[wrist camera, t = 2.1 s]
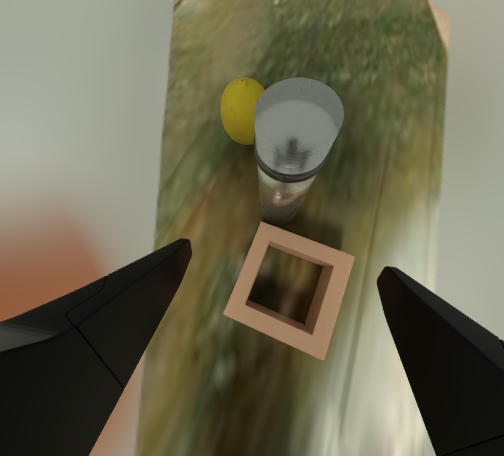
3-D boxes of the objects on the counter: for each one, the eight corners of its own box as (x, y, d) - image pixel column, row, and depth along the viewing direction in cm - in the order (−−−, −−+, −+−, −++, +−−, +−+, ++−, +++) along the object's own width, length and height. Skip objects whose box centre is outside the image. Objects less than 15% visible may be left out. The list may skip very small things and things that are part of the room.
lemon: (273, 153, 25) (277, 99, 17) (231, 161, 25) (215, 110, 17) (265, 118, 26) (266, 52, 18) (225, 125, 26) (209, 63, 18)
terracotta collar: (313, 345, 20) (323, 361, 16) (229, 307, 21) (223, 314, 17) (340, 259, 21) (354, 256, 18) (261, 229, 23) (261, 221, 19)
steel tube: (290, 231, 22) (330, 167, 9) (253, 217, 23) (236, 138, 9) (303, 196, 23) (358, 88, 10) (267, 183, 24) (270, 66, 10)
